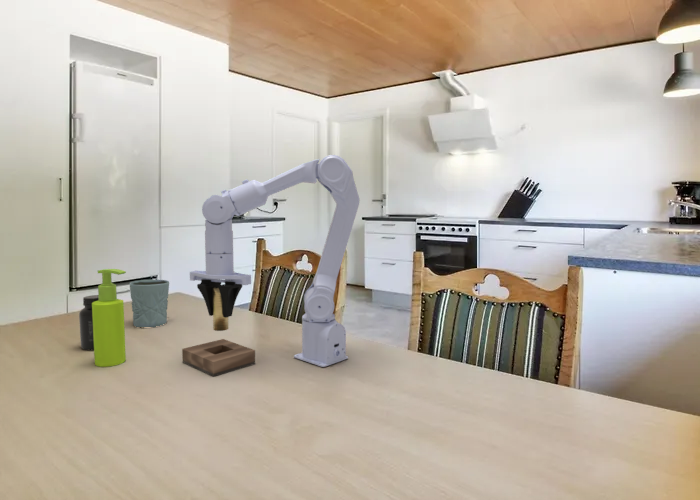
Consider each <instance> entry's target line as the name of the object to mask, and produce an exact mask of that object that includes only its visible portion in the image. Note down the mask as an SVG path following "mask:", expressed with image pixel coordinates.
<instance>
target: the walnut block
mask: <svg viewBox="0 0 700 500" xmlns="http://www.w3.org/2000/svg"><path fill="white" fill-rule="evenodd" d="M181 353H182V354H181V355H182V363H183V364H185V365H187V366H189V367H192V368H194V369H196V370H198V371H200V372H202V373H205V374H207V375H209V376H212V377H217V376H221V375H224V374H227V373H231V372H233V371H236V370H237V371H238V370H240V369H243V368H246V367H247V368H248V367H250V366H253V365H256V350H255V349H253V348H250V347H247V346H244V345H241V344H239V343H235V342H233V341H231V340H227V339H225V338H220V339H216V340H213V341H209V342H206V343H201V344H197V345H194V346H192V345H191V346H189V347H185V348H181Z"/></svg>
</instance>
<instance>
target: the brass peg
mask: <svg viewBox="0 0 700 500" xmlns="http://www.w3.org/2000/svg"><path fill="white" fill-rule="evenodd" d="M229 323H230V322H229V317H227V318H225V317H223V309H222V298H221V294H220V291H219V288H218V287H213V316H212V330H213V331H216V332H223V331H227V330H229V328H230V327H229Z"/></svg>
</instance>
